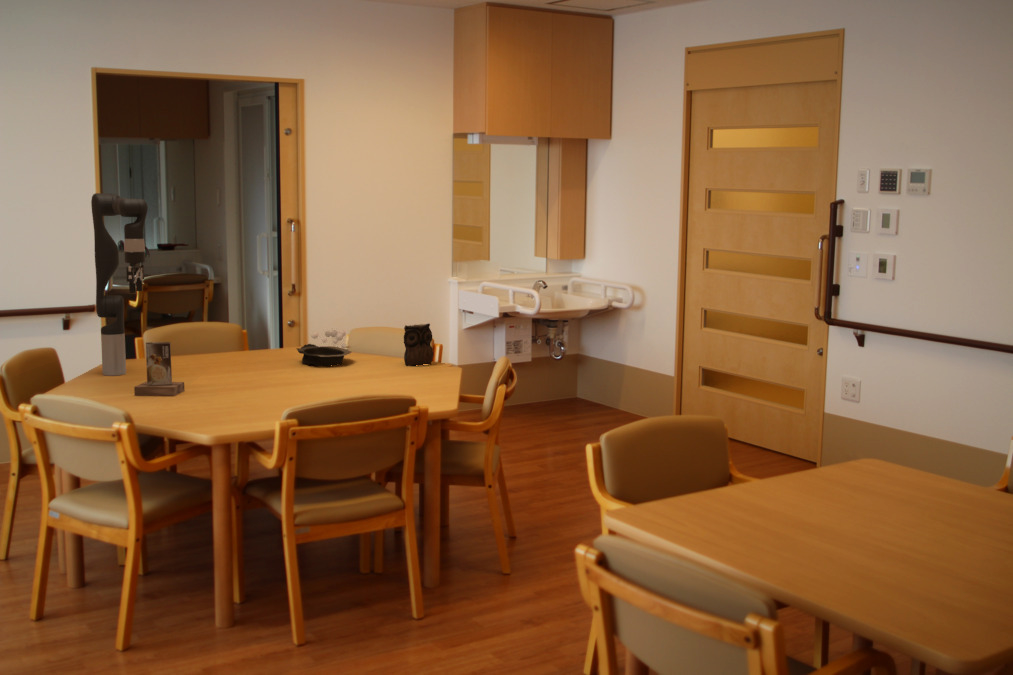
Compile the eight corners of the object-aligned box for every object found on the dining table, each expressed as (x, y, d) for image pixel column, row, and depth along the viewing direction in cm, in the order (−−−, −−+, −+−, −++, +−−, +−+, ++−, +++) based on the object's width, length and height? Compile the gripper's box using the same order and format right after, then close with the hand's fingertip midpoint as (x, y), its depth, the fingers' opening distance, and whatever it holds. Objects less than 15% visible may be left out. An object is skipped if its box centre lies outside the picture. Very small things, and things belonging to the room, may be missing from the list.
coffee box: (172, 382, 382) (171, 341, 380) (172, 384, 376) (171, 343, 374) (147, 383, 379) (146, 342, 377) (146, 385, 373) (145, 343, 371)
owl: (434, 365, 454) (434, 322, 451) (424, 369, 442) (425, 325, 439) (409, 364, 457) (409, 321, 455) (398, 368, 445) (398, 324, 443)
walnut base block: (146, 391, 383) (145, 381, 383) (184, 392, 383) (184, 382, 383) (134, 397, 371) (134, 386, 371) (174, 397, 372) (173, 387, 371)
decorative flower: (305, 353, 492) (305, 325, 491) (350, 353, 494) (350, 325, 492) (299, 360, 468) (298, 331, 466) (346, 360, 469) (346, 331, 468)
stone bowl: (285, 366, 447) (285, 346, 446) (328, 360, 466) (328, 341, 465) (319, 372, 431) (319, 351, 430) (363, 366, 450) (362, 346, 449)
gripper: (130, 249, 388) (131, 290, 390) (118, 251, 374) (120, 293, 376) (149, 250, 388) (151, 290, 390) (138, 251, 374) (140, 293, 376)
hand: (136, 292), depth 383 cm, fingers open, 8 cm apart
